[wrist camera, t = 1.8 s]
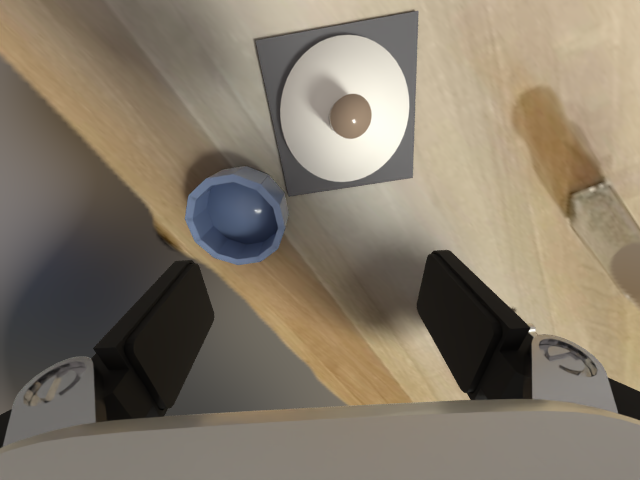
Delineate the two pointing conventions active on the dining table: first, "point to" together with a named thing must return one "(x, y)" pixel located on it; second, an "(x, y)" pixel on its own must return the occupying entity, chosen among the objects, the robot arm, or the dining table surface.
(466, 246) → the dining table surface
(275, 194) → the bowl
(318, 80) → the lid
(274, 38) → the mat
